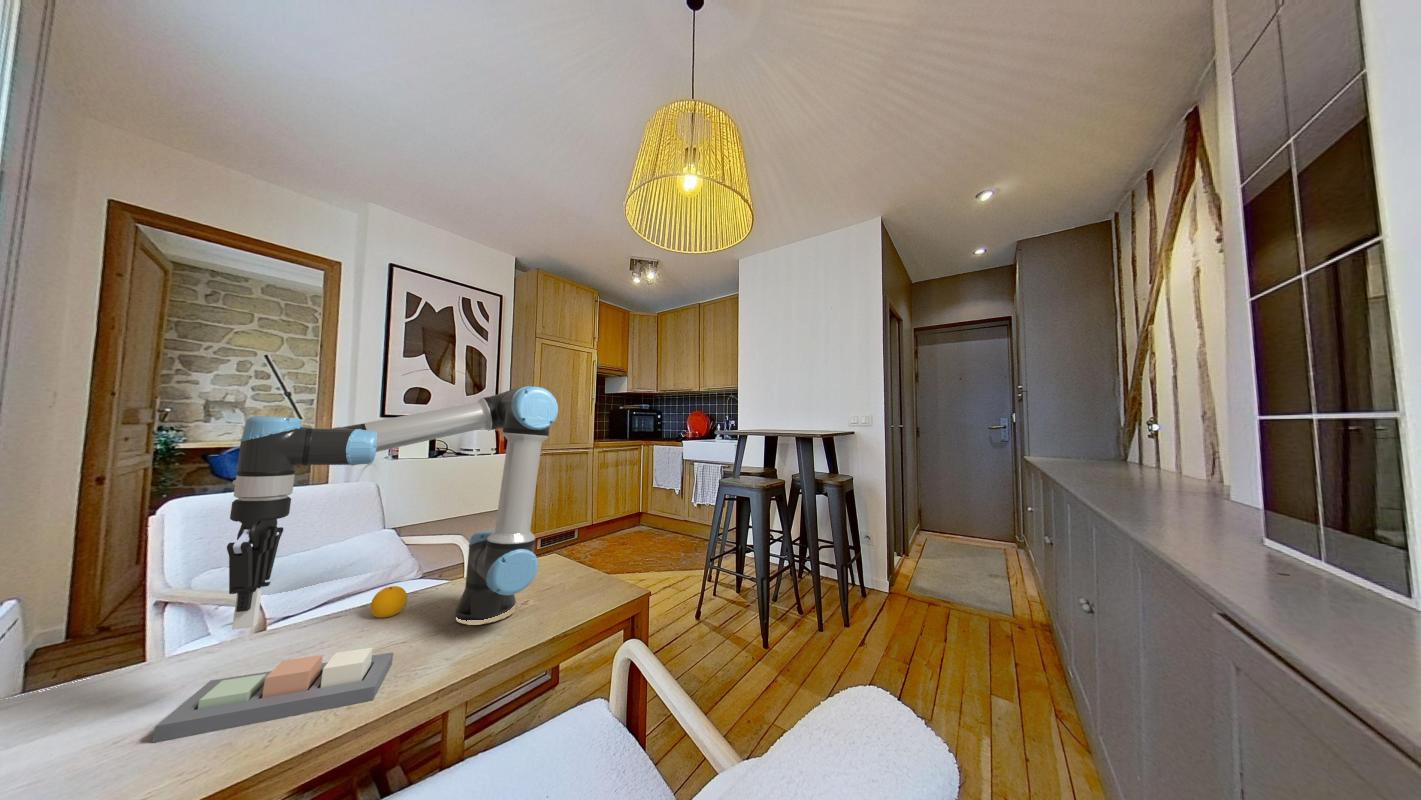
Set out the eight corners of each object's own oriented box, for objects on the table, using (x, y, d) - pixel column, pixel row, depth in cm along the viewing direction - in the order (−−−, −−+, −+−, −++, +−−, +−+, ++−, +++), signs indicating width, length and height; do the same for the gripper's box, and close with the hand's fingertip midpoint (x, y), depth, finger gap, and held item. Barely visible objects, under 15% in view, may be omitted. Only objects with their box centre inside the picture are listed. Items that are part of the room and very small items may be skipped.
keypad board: (391, 664, 88) (393, 652, 88) (373, 700, 76) (374, 686, 76) (208, 694, 76) (210, 680, 76) (152, 742, 64) (155, 726, 64)
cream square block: (370, 664, 83) (372, 647, 84) (360, 681, 78) (363, 662, 78) (333, 671, 81) (335, 652, 81) (320, 688, 75) (323, 668, 76)
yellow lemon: (409, 607, 115) (412, 580, 116) (401, 619, 108) (404, 590, 109) (374, 610, 112) (378, 583, 113) (364, 623, 105) (367, 593, 106)
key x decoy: (320, 673, 80) (322, 654, 80) (306, 690, 75) (309, 671, 75) (279, 679, 77) (282, 660, 78) (262, 698, 72) (265, 677, 72)
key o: (263, 692, 76) (266, 673, 77) (244, 713, 71) (247, 692, 71) (219, 700, 74) (222, 680, 74) (195, 722, 68) (199, 700, 69)
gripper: (255, 492, 80) (238, 615, 78) (211, 503, 68) (189, 648, 66) (305, 491, 83) (290, 609, 81) (271, 502, 72) (252, 639, 69)
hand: (244, 626), depth 74 cm, fingers closed
